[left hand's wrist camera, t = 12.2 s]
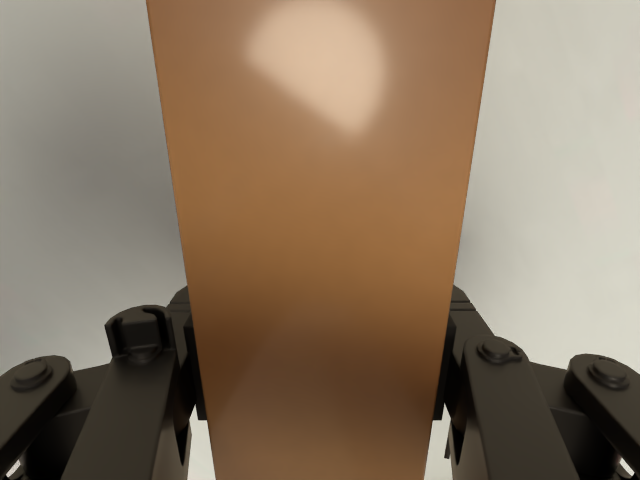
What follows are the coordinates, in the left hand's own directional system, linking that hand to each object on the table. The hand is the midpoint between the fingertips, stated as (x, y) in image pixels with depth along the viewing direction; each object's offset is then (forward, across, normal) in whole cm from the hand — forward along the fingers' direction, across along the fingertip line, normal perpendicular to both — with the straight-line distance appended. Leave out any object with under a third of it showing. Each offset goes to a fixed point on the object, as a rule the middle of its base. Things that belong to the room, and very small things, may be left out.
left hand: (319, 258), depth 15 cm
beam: (+1, 0, -20) cm, 20 cm away
